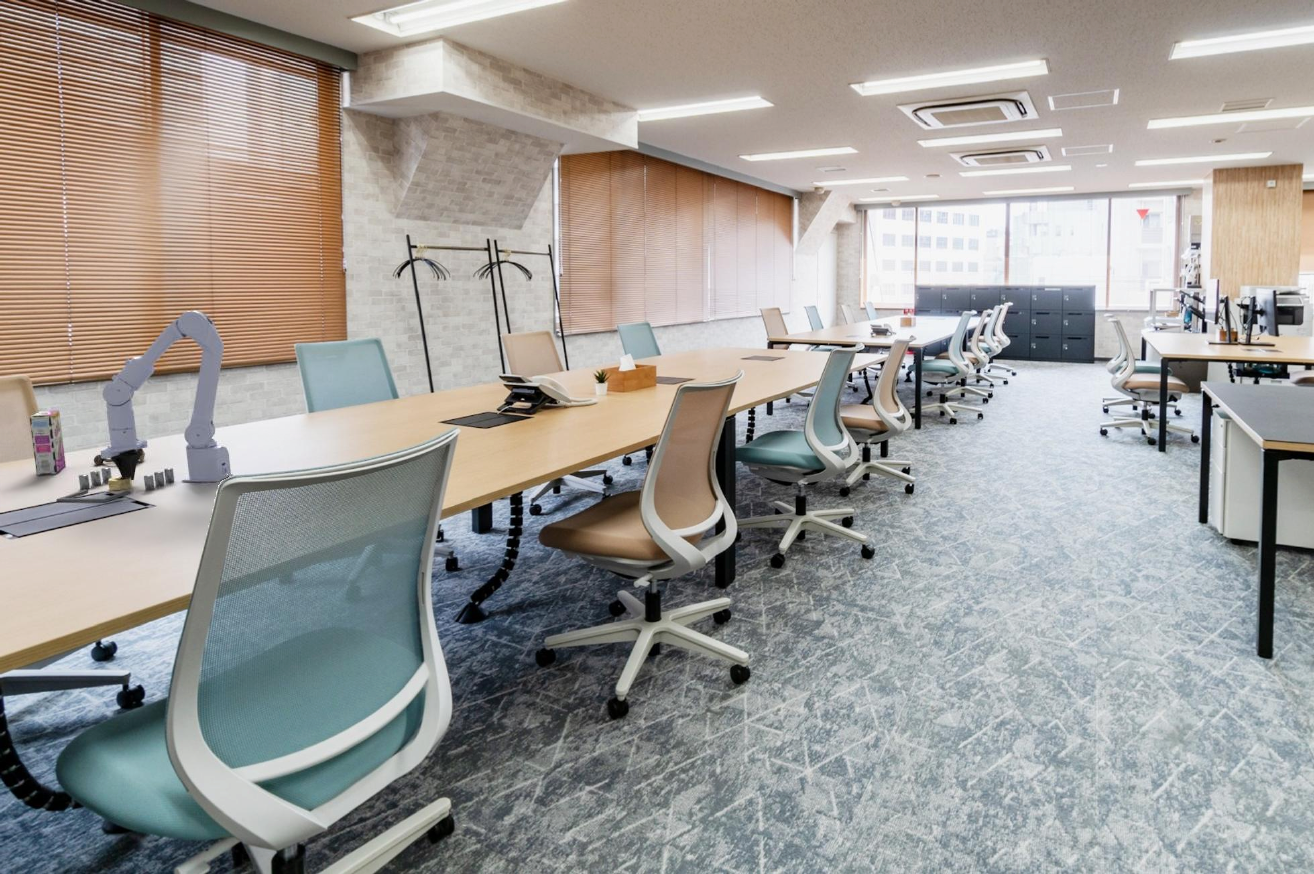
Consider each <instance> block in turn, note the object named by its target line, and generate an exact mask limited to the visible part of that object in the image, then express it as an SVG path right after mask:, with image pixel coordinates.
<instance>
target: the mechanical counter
mask: <svg viewBox="0 0 1314 874" xmlns="http://www.w3.org/2000/svg"><path fill="white" fill-rule="evenodd" d="M138 440H139V439H138V438H137V441H138ZM135 451H140V452H141V456H140V458H139V460H138V461H140V462H141V463H143V462H144V460H145V455H146V453H145V451H144V448H141V449H137V450H135ZM104 462H105V463H114V462H113V461H112V460H111V459H110V458H101V454H96V455H95V456H94V458H93V463H94V464H95V465H97V466H102V465H103V464H104Z"/></svg>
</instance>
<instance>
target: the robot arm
mask: <svg viewBox="0 0 1314 874" xmlns="http://www.w3.org/2000/svg"><path fill="white" fill-rule="evenodd" d="M187 337H188V338H190V339H192V340H194V341H195V343H196V344H197V346H199V347H200V349H202V354H201V362H200V368H199V374H198V380H197V386H196V392H195V393H196V394H195V397H194V404H193V405H194V406H193V410H192V414H191V417H190V418H191V419H190V423H189V425H188V426H187V427H186V428H185V430H184V439H185V441H186V443H187V444H186V445H185V450H186V460H187V469H188V470H187V471H188V477H185V478H183V479H181V482H199V483H200V482H203V483H204V482H205V483H206V482H208V483H209V482H210V483H211V482H213V483H214V482H215V483H216V482H218V481H222V480H225V479H226V477H227V478H229V477H232V476H233V473H232V471H231V462H230V453H229V451H228V448H227V447H226V446H224V445H223V446H221V445H218V442H217V441H215V439H214V438H213V437H214V435H215V434H216V427H215V424H214V411H215V410H214V408H215V404H216V398H217V392H218V386H219V379H220V373H221V367H222V363H223V362H222V361H223V357H224V356H223V355H224V350H225V344H224V341H223V340H222V337H221V335H220V334H219V332H218V330H217V328H216V325H215V324H214V322H213V320H212V319H211V318H210V317H209V316H208V315H207V314H206V313H204V312H202V311H200V310H190V311H186V312H183V313H182V314H181V315H180V316H179V317H178V319H175V320H174V321H173V322H172V323H170V324H169V325H168V326H167V327H166V328H164V330H162V332H161V333H160V334H159V335H158V337H157V338H156V339H155V340H154V342H153V343H152V344H151V345H150V346H149V347H148V349H147V350H146V351H145V352H144V353H143V354H142V356H135V357H132V358H131V359H126V361H124V363H123V364H124V367H123V368H122V369H121V370H120V371H119V372H118V374H114V375H113V376H111V380H113V381H112V382H108V383H106V384H105V386H104V388H103V390H102V394H101V395H102V398H103V400H104V401H105V402H106V405H105V406H106V416H107V426H108V434H109V440H110V444H108V445H107V447H106V448H105V449H102V450H100V455H101V458H107V459H111V460H112V461H113V462H112V463H114V465H115V466H116V467H117V469H118V471H119V473H120V477H131V481H132V482H133V481H134V480H135V474H136V468H137V464H138V463H139V461H140V460H139V458H140V456H141V452H140V451H135V450H137V449H141V448H142V449H146V448H148V440H147V439H138V438H137V437H138V436H137V427H136V421H135V411H134V409H133V401H132V398H133V397H134V394H135V391H136V392H137V391H138V390H139V389H140V388H141V387H142V386H143V385H144V383H145V382H146V381H148V379H149V378H151V376H152V375H153V374H154V372H155V367H154V364H155V363H156V362H157V361H158V360H159V358H161V356H163V355H164V354H165V352H167V351H168V349H170V347H171V346H172V345H173V344H174V343H175V342H178V341H180V340H182V339H185V338H187ZM137 439H138V441H137ZM231 473H232V474H231ZM227 474H228V475H227ZM228 476H229V477H228Z"/></svg>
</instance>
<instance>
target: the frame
mask: <svg viewBox="0 0 1314 874" xmlns="http://www.w3.org/2000/svg"><path fill="white" fill-rule="evenodd" d="M87 493H89V489H86V490H79V491H77V492H73V493H71V494H68V495H65V496H61V497H59V498H56V502H61V503H63V502H64V503H65V502H66V503H67V502H70V503H72V502H73V503H106V502H110V501H112V500H115V499H118V498H121V497H123V496H126V495H128V494H129V495H130V494H131V493H132V492H131V490H128V489H126V490H124V491H121V492H118V493H116V494H113V495H110V496H107V497H105V498H96V497H95V498H93V497H92V498H86V497H84V498H80V497H79V498H78V496H82V495H85V494H87ZM76 497H77V498H76Z"/></svg>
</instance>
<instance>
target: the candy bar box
mask: <svg viewBox="0 0 1314 874" xmlns="http://www.w3.org/2000/svg"><path fill="white" fill-rule="evenodd" d="M28 418H29V424H30V432H31V440H32V447H33V449H32V450H33V454H34V455H33V456H34V463H35V471H36V476H49V475H58V474H59V473H60V472H61V471H62V470H64V468H65V467H67V466H66V456H65V449H64V448H65V447H64V442H63V441H64V440H63V431H62V424H61V423H62V422H61V414H60V410H43V411H42V410H40V411H38V412H36V413H33V414H31V415H30V416H28Z"/></svg>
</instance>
